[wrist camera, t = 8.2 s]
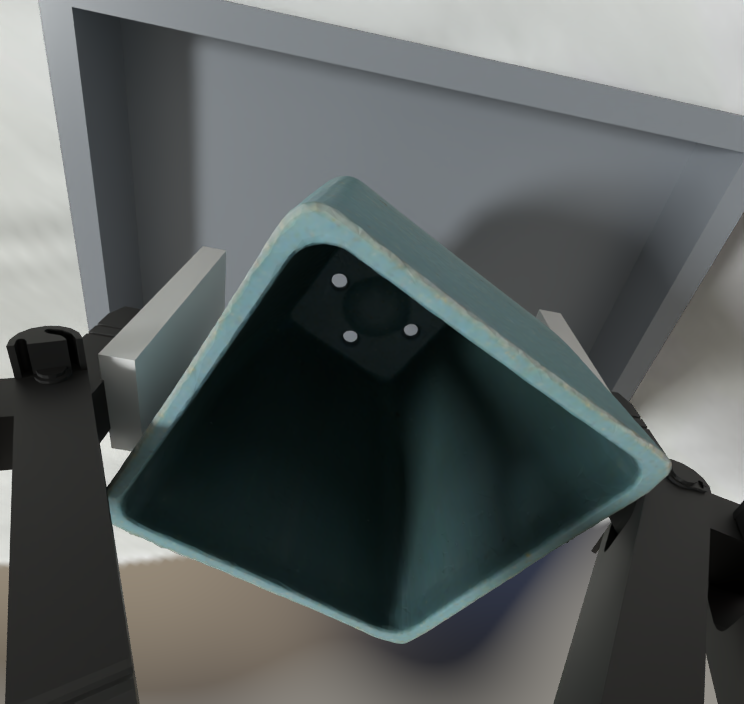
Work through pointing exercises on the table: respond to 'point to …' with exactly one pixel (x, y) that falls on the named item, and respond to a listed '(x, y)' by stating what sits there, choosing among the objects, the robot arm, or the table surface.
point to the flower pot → (378, 429)
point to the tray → (383, 162)
